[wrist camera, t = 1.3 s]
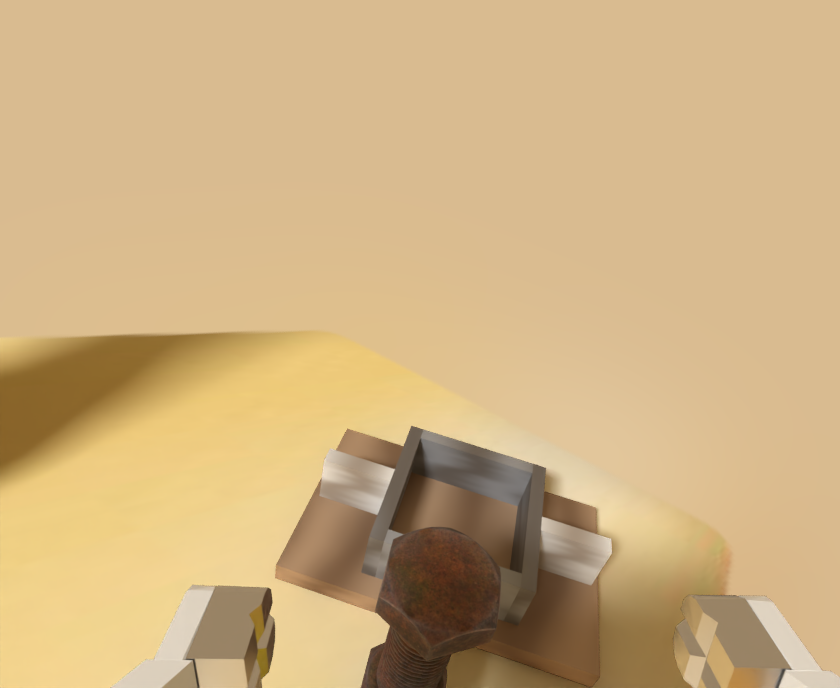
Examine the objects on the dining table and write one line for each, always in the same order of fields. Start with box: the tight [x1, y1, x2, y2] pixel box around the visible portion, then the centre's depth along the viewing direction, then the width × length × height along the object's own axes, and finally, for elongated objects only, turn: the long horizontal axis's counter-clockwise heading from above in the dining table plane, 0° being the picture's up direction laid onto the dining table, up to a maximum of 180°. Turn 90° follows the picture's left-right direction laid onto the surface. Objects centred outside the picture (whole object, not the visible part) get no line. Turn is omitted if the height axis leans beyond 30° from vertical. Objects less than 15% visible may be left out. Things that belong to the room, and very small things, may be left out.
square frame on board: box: [275, 426, 612, 687], centre depth 42 cm, size 22×14×6 cm, turn 76°
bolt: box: [361, 527, 501, 688], centre depth 29 cm, size 6×5×15 cm
